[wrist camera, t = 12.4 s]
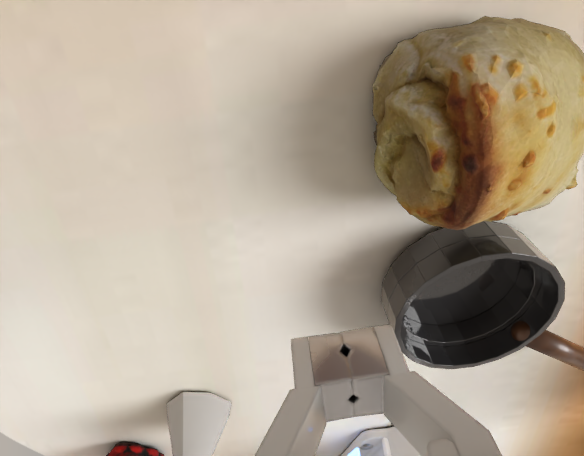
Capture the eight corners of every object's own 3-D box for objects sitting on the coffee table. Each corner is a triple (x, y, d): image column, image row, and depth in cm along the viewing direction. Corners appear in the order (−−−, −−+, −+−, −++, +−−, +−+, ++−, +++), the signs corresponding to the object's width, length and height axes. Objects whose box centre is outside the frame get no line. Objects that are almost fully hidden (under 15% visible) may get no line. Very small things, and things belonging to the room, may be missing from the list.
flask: (157, 417, 42) (132, 525, 34) (178, 382, 39) (155, 494, 30) (217, 428, 44) (207, 532, 36) (242, 397, 41) (237, 504, 33)
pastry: (322, 98, 23) (347, 151, 16) (521, -59, 19) (658, -74, 12) (423, 237, 30) (469, 314, 23) (584, 143, 26) (695, 202, 19)
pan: (453, 342, 38) (473, 382, 34) (350, 302, 33) (361, 343, 30) (561, 254, 32) (600, 292, 28) (453, 191, 27) (483, 225, 24)
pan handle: (599, 351, 36) (615, 369, 34) (581, 362, 37) (595, 380, 35) (519, 313, 32) (533, 331, 30) (501, 326, 33) (513, 345, 31)
